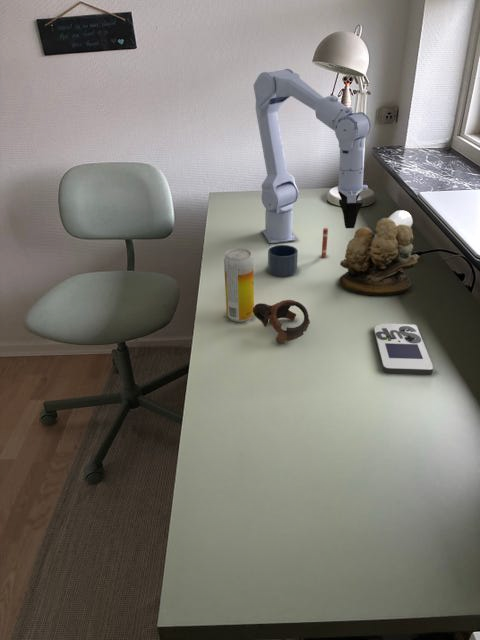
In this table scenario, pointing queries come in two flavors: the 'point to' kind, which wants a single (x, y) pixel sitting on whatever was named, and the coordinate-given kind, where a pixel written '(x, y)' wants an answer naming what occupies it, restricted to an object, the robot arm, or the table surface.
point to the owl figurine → (379, 260)
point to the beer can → (239, 284)
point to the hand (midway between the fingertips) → (349, 222)
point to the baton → (324, 242)
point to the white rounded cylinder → (401, 218)
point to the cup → (282, 260)
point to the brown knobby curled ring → (282, 311)
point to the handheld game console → (402, 349)
